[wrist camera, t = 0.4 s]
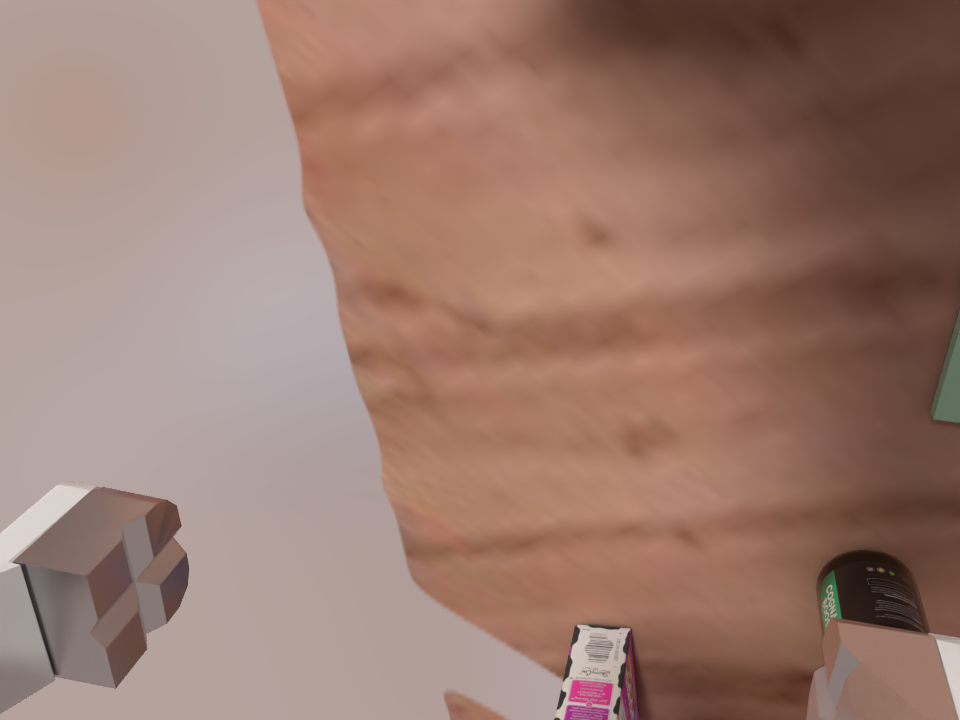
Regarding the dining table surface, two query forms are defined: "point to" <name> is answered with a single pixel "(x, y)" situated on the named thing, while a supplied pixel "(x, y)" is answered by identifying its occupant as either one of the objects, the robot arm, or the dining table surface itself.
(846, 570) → the supplement bottle
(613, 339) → the dining table surface
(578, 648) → the candy bar box
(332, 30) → the dining table surface
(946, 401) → the board
